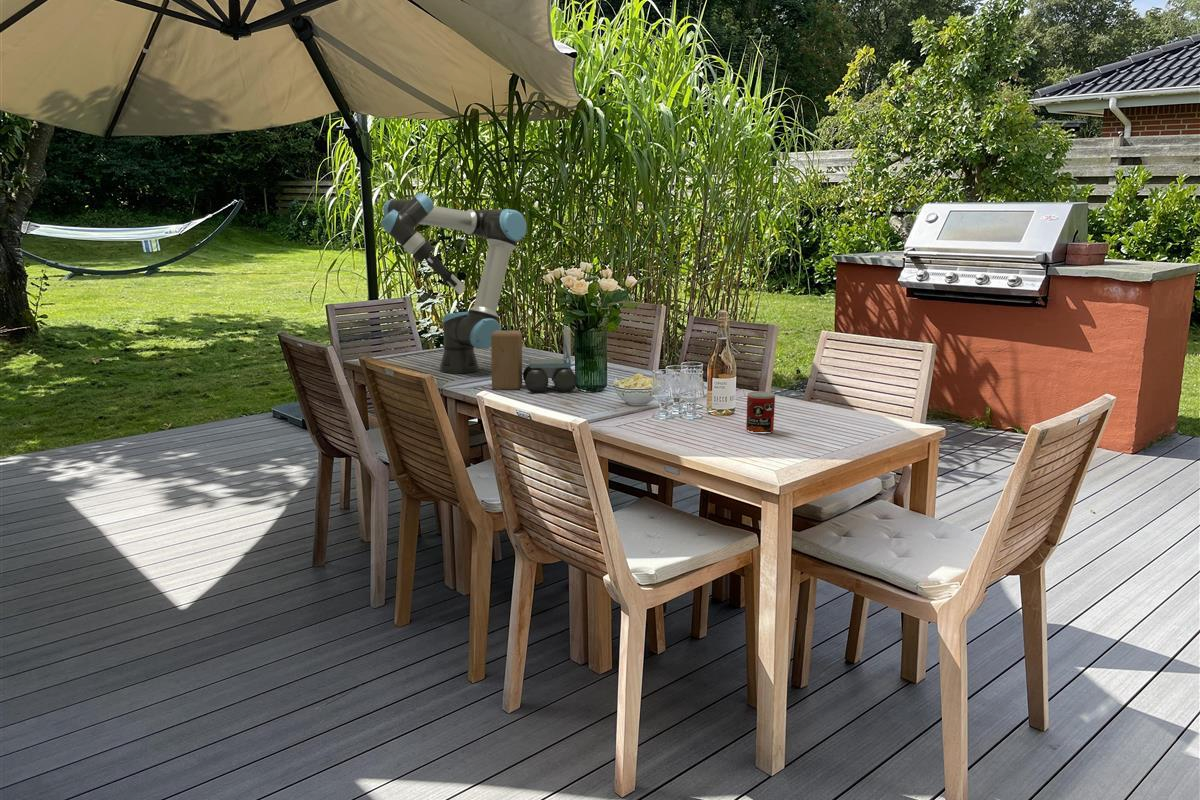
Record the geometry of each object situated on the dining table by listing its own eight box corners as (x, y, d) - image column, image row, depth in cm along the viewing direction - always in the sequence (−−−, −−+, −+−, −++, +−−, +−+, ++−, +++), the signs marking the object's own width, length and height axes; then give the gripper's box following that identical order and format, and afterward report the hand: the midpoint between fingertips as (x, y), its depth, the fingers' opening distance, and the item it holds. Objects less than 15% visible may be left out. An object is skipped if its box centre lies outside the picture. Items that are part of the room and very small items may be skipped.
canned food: (743, 433, 260) (745, 395, 258) (749, 427, 267) (750, 390, 265) (770, 435, 257) (772, 397, 255) (775, 429, 265) (777, 392, 262)
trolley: (522, 386, 331) (522, 317, 326) (572, 385, 333) (572, 316, 328) (525, 393, 317) (524, 321, 312) (577, 392, 319) (577, 321, 314)
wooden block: (491, 389, 323) (490, 333, 319) (495, 384, 333) (494, 329, 329) (520, 390, 323) (519, 333, 319) (522, 385, 333) (522, 330, 329)
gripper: (413, 254, 335) (456, 295, 340) (409, 257, 311) (455, 301, 316) (427, 239, 335) (470, 281, 340) (424, 241, 311) (470, 285, 316)
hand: (463, 290), depth 328 cm, fingers open, 13 cm apart
